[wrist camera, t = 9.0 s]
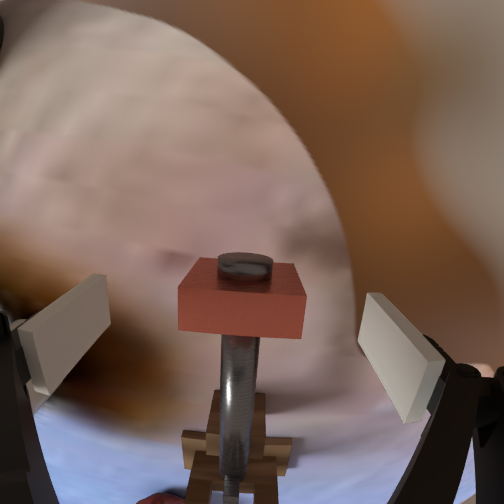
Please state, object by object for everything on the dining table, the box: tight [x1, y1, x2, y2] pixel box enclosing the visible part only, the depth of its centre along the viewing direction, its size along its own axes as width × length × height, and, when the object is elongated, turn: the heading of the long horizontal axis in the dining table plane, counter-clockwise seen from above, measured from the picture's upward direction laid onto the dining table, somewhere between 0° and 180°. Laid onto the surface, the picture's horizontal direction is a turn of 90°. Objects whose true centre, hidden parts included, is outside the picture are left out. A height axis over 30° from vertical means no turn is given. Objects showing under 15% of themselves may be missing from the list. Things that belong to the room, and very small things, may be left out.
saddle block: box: [206, 390, 266, 459], centre depth 27 cm, size 3×5×6 cm, turn 86°
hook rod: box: [178, 252, 307, 504], centre depth 21 cm, size 19×6×7 cm, turn 176°
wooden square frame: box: [181, 430, 292, 504], centre depth 25 cm, size 6×12×14 cm, turn 86°
